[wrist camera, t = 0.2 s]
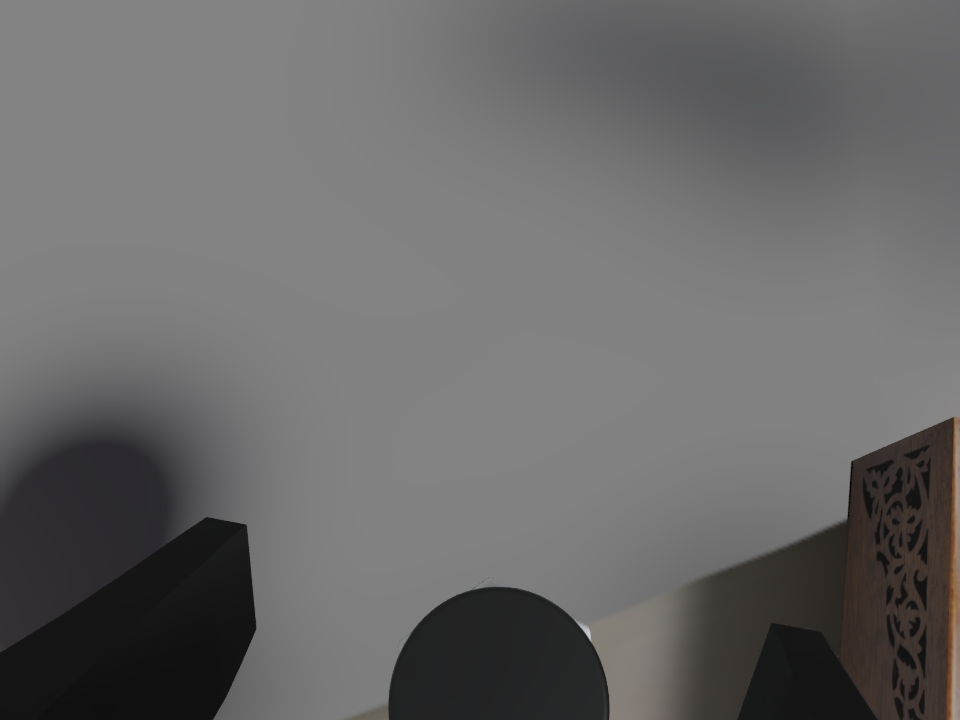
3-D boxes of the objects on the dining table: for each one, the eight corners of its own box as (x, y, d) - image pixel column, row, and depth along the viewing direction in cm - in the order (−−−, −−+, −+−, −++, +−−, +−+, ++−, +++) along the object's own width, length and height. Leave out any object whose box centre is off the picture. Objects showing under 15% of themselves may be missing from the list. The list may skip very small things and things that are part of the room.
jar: (471, 806, 37) (458, 894, 25) (384, 658, 39) (336, 678, 27) (617, 694, 38) (667, 730, 27) (524, 558, 40) (534, 537, 29)
